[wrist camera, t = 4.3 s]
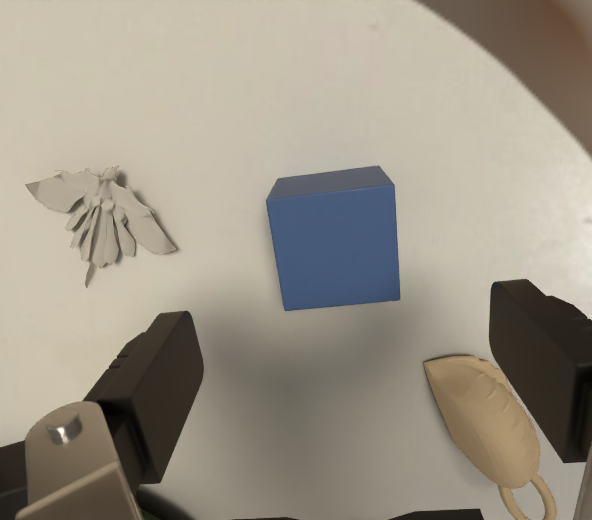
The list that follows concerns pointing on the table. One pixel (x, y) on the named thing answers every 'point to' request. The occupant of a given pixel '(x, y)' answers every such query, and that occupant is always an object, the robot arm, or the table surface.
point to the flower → (102, 215)
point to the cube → (335, 238)
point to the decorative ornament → (489, 426)
